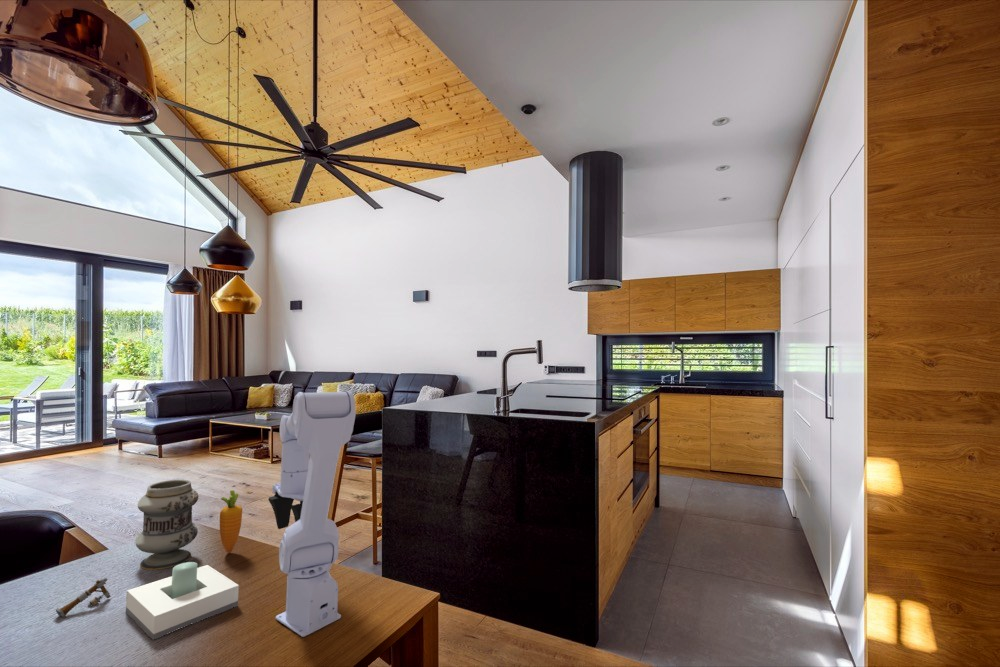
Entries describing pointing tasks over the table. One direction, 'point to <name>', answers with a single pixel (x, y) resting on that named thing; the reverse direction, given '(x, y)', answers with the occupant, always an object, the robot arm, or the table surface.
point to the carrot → (230, 522)
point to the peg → (184, 579)
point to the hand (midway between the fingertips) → (292, 531)
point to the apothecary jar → (167, 523)
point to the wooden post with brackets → (83, 596)
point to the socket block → (180, 602)
